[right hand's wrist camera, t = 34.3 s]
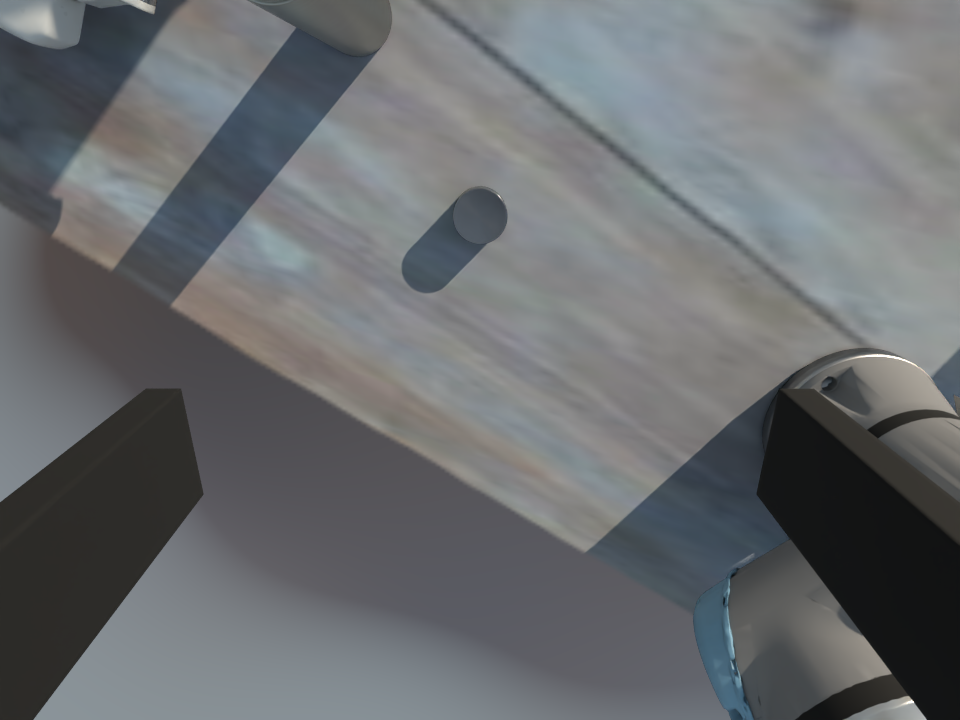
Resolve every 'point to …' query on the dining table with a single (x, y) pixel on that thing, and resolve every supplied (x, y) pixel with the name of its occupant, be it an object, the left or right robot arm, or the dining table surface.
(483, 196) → the cap
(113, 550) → the right robot arm
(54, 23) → the left robot arm
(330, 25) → the bottle
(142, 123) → the dining table surface
